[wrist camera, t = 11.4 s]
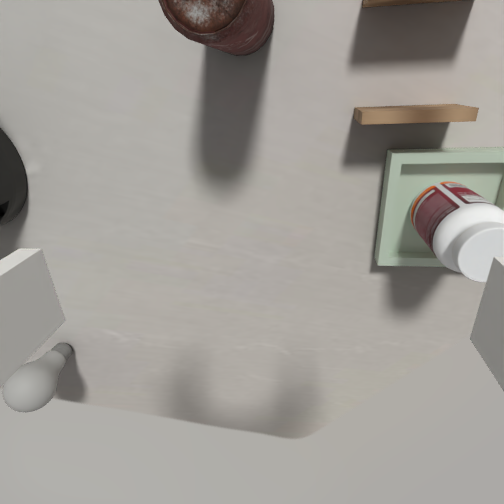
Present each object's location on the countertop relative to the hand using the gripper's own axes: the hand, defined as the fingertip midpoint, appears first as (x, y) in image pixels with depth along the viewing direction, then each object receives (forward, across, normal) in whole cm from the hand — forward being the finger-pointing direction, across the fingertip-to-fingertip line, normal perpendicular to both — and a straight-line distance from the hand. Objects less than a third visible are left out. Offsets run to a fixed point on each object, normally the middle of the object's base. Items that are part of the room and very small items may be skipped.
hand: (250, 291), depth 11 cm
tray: (+28, +16, -7) cm, 33 cm away
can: (+29, -4, +11) cm, 31 cm away
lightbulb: (+29, -33, -29) cm, 52 cm away
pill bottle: (+28, +16, -7) cm, 33 cm away
